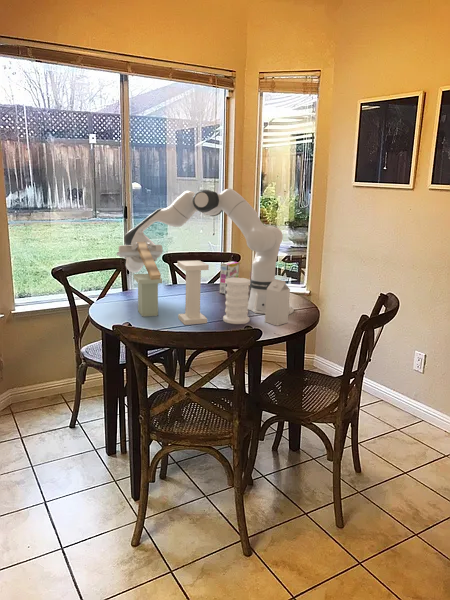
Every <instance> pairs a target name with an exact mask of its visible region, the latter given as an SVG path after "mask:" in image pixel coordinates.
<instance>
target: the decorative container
mask: <svg viewBox="0 0 450 600" xmlns="http://www.w3.org/2000/svg"><path fill="white" fill-rule="evenodd" d="M250 280H251V279H249V278H246V277H245V278H244V277H238V278H227V279H225V283H226V284H227V287H226V291H227V294H226V295H225V303H224V304H225V309H224V313H225V314H224V315H223V316H222V321H223V322H225V323H227V324H232V325H244V324H247V323H250V317H249V316H248V313H249V309H248V305H249V303H248V301H249V297H250V294H249V293H250Z"/></svg>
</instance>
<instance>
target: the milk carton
mask: <svg viewBox="0 0 450 600" xmlns="http://www.w3.org/2000/svg"><path fill="white" fill-rule="evenodd" d="M286 282H287V281H285V280H282V279H276V278H275V279H272V282H271V283H270V285H269V286H268V288H267V294H266V312H265V314H264V315H265V316H264V322H265V323H268V324H271V325H274V326H282V325H284V324H287V323H289V315H288V312H289V303H290V293H291V289H290V287H289V286H288V285H287V284H286Z"/></svg>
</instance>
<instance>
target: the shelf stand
mask: <svg viewBox="0 0 450 600" xmlns="http://www.w3.org/2000/svg"><path fill="white" fill-rule="evenodd" d="M177 267H179V268H180V269H182V270H183V271H185V313H178V315H177V317H178V320H179V321H180V322H181V323H182V324H183V325H184V326H189V325H199V324H201V325H202V324H208V318H207V317H206V316H205V315H204V314H203V313H201V285H202V284H201V280H202V271H209V270H210V269H209V267H210V266H209V264H207V263H205V262H204V261H201V260H200V259H199V260H177Z"/></svg>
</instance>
